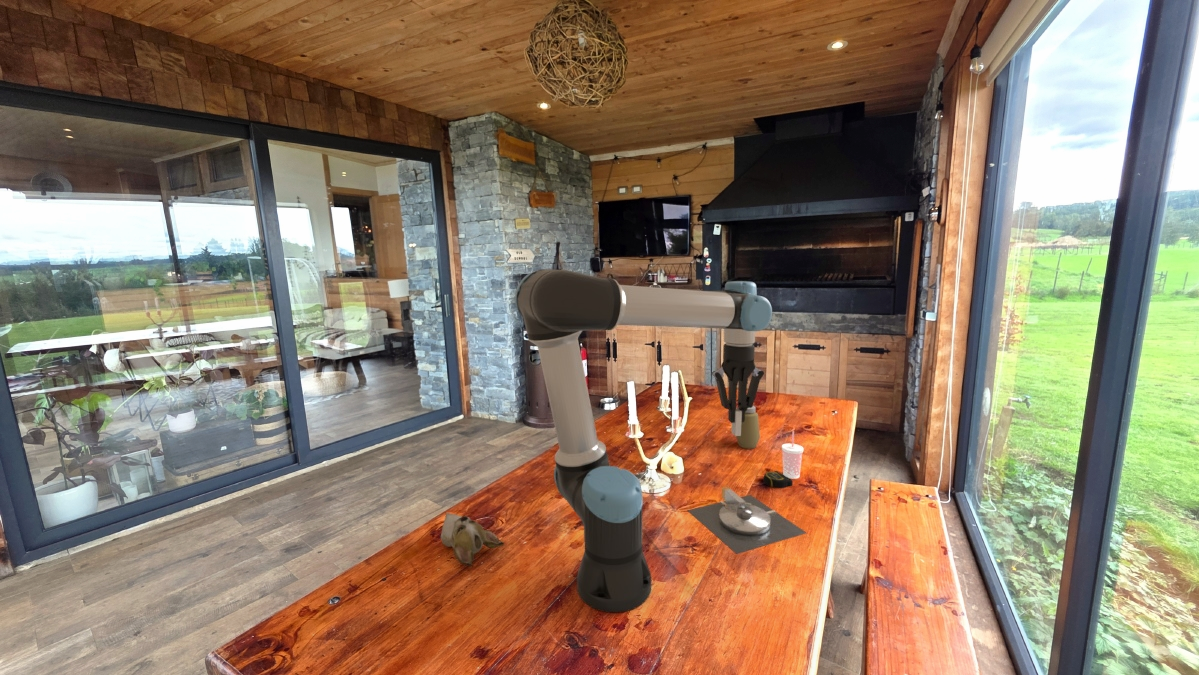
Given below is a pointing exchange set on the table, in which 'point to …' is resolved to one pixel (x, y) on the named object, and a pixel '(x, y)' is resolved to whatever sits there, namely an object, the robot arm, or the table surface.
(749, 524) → the dial
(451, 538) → the ceramic sculpture
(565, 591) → the table surface
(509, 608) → the table surface
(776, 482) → the tape measure
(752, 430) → the squeeze bottle
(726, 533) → the plate
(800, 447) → the beverage cup
